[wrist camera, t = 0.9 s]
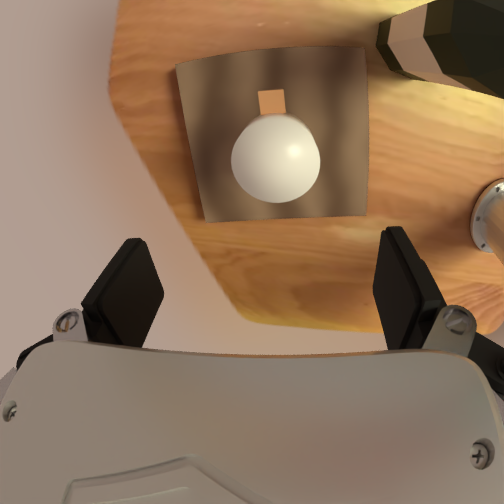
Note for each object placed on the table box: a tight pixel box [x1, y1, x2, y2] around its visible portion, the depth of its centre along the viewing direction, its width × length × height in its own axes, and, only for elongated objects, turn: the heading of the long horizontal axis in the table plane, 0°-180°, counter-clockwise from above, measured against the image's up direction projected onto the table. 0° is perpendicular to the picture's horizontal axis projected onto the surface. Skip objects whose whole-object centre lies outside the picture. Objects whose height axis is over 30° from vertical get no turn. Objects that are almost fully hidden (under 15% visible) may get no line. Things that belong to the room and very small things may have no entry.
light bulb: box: [231, 89, 320, 203], centre depth 23 cm, size 7×9×5 cm
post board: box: [175, 46, 369, 223], centre depth 29 cm, size 20×20×6 cm
